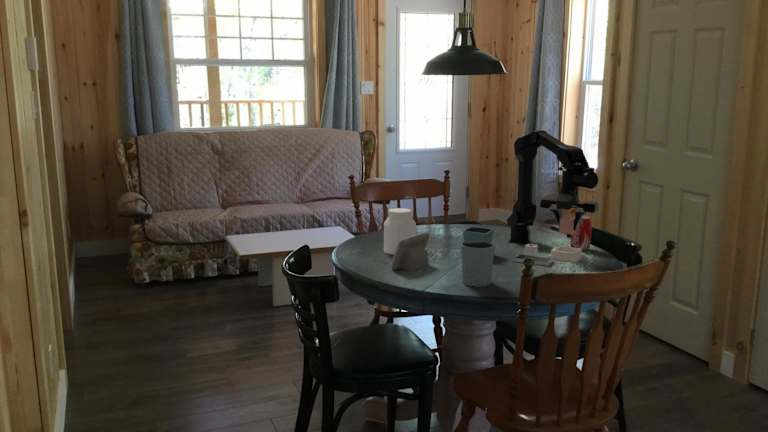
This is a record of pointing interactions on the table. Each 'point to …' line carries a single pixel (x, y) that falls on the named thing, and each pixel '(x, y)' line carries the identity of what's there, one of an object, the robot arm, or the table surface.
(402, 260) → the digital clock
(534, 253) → the grey cube with tab
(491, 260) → the drinking glass
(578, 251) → the outlet plate
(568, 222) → the block
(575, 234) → the soda can
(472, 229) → the flower pot
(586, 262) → the table surface
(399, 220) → the jar
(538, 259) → the phone
